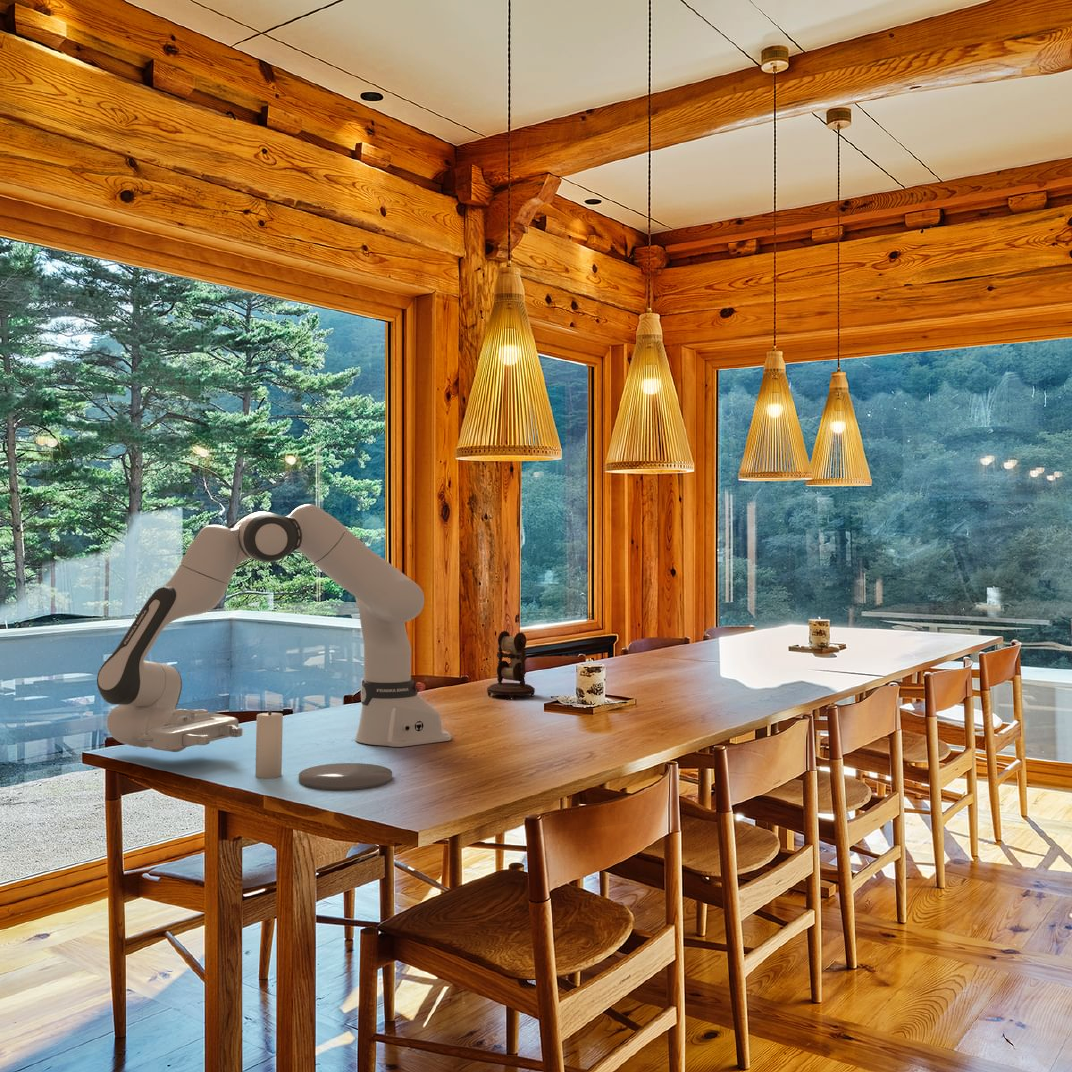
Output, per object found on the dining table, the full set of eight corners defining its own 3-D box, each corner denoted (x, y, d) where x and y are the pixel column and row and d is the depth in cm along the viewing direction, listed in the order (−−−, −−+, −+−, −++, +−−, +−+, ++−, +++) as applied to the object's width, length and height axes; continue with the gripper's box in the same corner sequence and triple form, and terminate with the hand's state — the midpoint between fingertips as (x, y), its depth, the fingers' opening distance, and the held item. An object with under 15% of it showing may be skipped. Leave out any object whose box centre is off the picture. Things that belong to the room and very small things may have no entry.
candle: (278, 771, 200) (279, 708, 200) (284, 777, 195) (285, 712, 195) (252, 773, 197) (254, 709, 198) (258, 779, 193) (259, 713, 193)
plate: (375, 765, 207) (375, 760, 207) (405, 785, 191) (405, 778, 191) (288, 773, 198) (288, 767, 198) (312, 794, 182) (312, 787, 182)
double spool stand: (544, 696, 307) (545, 632, 307) (512, 701, 295) (513, 634, 296) (509, 691, 316) (510, 628, 317) (477, 696, 305) (478, 631, 305)
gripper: (134, 722, 198) (186, 729, 192) (208, 708, 217) (257, 713, 211) (133, 754, 198) (185, 761, 192) (207, 737, 216) (257, 743, 211)
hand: (224, 736), depth 202 cm, fingers open, 8 cm apart
